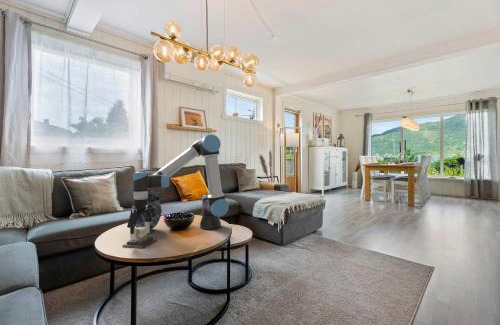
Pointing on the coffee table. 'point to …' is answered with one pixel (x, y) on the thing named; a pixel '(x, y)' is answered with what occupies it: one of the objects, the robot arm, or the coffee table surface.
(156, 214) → the decorative vase
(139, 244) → the base board
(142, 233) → the birch block
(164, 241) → the coffee table surface
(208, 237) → the coffee table surface
